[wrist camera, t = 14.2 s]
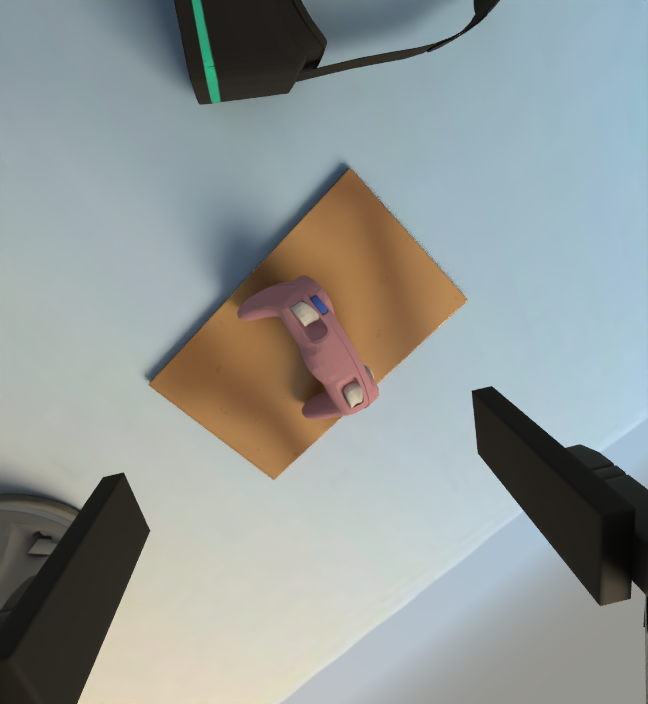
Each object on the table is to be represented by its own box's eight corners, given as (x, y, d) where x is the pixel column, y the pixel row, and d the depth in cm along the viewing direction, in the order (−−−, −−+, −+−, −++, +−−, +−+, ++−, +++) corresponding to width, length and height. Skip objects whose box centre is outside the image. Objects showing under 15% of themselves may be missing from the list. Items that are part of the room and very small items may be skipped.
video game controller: (347, 383, 32) (405, 399, 26) (302, 421, 30) (352, 447, 24) (281, 271, 29) (328, 258, 22) (227, 307, 27) (261, 303, 21)
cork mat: (274, 476, 33) (273, 480, 32) (150, 382, 30) (147, 384, 29) (465, 298, 29) (468, 300, 29) (349, 168, 26) (350, 167, 25)
